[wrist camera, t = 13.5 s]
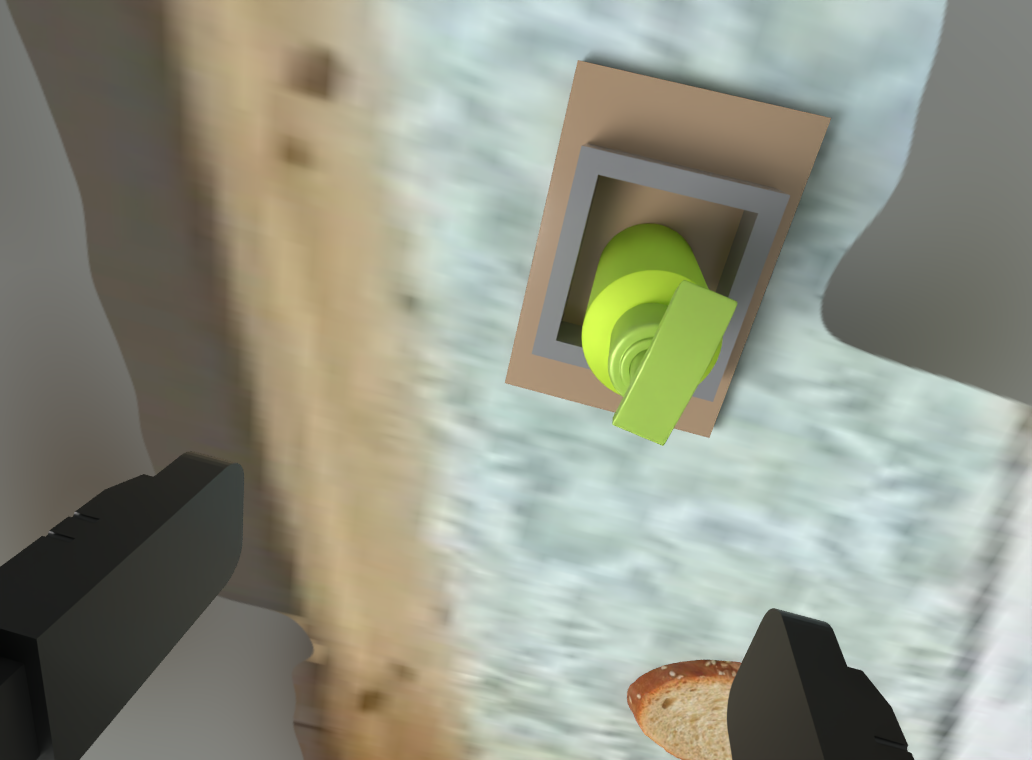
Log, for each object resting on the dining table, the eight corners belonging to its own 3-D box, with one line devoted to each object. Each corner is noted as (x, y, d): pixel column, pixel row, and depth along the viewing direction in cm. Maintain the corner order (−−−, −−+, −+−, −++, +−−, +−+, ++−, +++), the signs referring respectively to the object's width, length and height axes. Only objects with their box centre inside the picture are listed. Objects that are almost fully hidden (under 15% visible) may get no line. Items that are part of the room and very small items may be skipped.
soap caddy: (580, 62, 37) (571, 53, 32) (823, 118, 36) (854, 118, 31) (508, 374, 45) (493, 406, 40) (706, 427, 44) (716, 467, 39)
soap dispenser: (722, 229, 38) (802, 331, 20) (669, 333, 41) (697, 508, 22) (628, 191, 38) (622, 257, 20) (582, 297, 41) (539, 441, 22)
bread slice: (613, 674, 54) (611, 712, 51) (834, 618, 49) (849, 656, 45) (695, 820, 59) (699, 863, 55) (906, 784, 53) (925, 830, 50)
